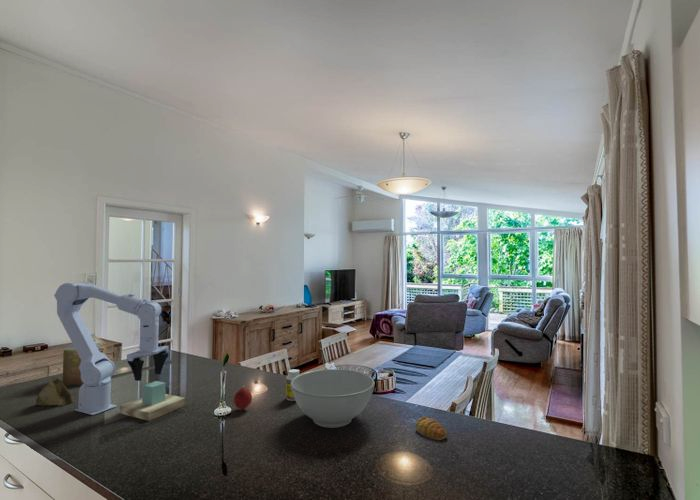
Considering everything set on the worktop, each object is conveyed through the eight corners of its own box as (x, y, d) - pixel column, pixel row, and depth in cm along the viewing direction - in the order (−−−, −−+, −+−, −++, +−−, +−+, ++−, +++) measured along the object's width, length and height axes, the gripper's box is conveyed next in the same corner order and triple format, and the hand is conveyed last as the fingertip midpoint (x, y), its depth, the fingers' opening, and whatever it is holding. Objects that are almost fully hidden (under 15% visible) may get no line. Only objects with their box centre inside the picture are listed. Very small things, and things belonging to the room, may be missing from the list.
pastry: (452, 437, 106) (452, 424, 106) (436, 444, 102) (436, 430, 102) (428, 425, 114) (427, 413, 114) (412, 431, 110) (412, 418, 110)
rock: (24, 400, 126) (37, 401, 122) (41, 376, 131) (55, 376, 127) (54, 411, 133) (68, 413, 128) (70, 387, 138) (84, 388, 134)
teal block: (142, 403, 124) (142, 385, 124) (155, 398, 128) (155, 380, 129) (152, 405, 122) (152, 387, 122) (165, 400, 126) (165, 382, 126)
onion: (246, 414, 121) (246, 389, 121) (230, 412, 122) (230, 388, 123) (254, 407, 127) (254, 384, 127) (239, 406, 128) (239, 382, 128)
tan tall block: (88, 385, 149) (89, 337, 150) (62, 384, 149) (63, 337, 150) (105, 377, 160) (106, 333, 161) (81, 376, 160) (82, 332, 161)
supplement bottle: (283, 400, 133) (283, 372, 133) (289, 395, 139) (289, 368, 139) (298, 402, 132) (298, 373, 132) (303, 396, 137) (303, 369, 138)
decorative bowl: (391, 418, 118) (391, 380, 119) (331, 449, 99) (331, 403, 99) (333, 397, 136) (333, 364, 137) (272, 419, 117) (273, 381, 117)
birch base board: (119, 413, 121) (120, 405, 122) (157, 399, 134) (157, 392, 134) (149, 420, 116) (149, 412, 116) (185, 405, 129) (185, 397, 129)
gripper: (137, 342, 119) (136, 385, 118) (175, 334, 132) (174, 372, 132) (122, 340, 122) (121, 382, 121) (161, 332, 135) (160, 370, 134)
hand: (148, 377), depth 127 cm, fingers open, 7 cm apart
